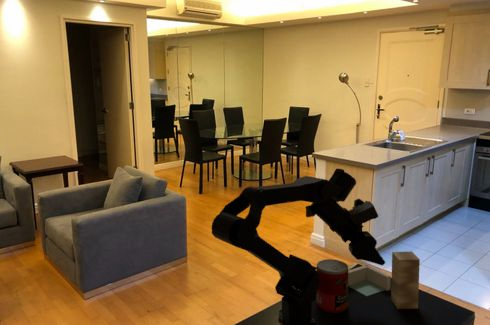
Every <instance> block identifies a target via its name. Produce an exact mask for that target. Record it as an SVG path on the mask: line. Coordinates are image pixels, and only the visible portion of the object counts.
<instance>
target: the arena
mask: <svg viewBox="0 0 490 325" xmlns="http://www.w3.org/2000/svg"><path fill="white" fill-rule="evenodd" d="M348 288H351V289H352V290H354V291H356V292H358V293H359V294H361V295H363V296H365V297H367V298H368V297H370V296H372V295H376V294H378V293H381V292H384V291H391V275H389V274H387V273H385V272H382V271H381V270H378V269H377V268H375V267H372V266H371V265H368V264H364V265H361V266H359V267H355V268H351V269H348Z"/></svg>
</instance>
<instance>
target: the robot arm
mask: <svg viewBox="0 0 490 325" xmlns="http://www.w3.org/2000/svg"><path fill="white" fill-rule="evenodd" d="M356 185H357V180H356V178H355V177H353V175H351V174H349V173H348V172H346V171H345V170H344V169H342V168H338V167H337V168H336V169H335V170H334V171H333V174H332V175H331V176H330V178H329V179H325V178H320V177H313V176H309V175H305V176H301V177H299V178H296V179H295V180H294V181H293V182H290V183H281V184H272V185H261V186H251V185H250V186H248V187H245V188H244V189H243V190H242V191H241V192H240V193H239V195H238V196H237V197H236V198H234V199H233V200H231V201H230V202H228V203H227V204H226V205H225V206H224V207H223V208H222V209H221V211H220V212H219V214H217V215H216V216H215V217H214V218H213V221H212V224H211V234H212V237H214V239H215V238H216V239H218V240H220V241H222V242H224V243H227V244H228V245H231V246H233V247H235V248H238V249H241V250H244V251H245V252H248V253H249V254H251V255H252V256H254V257H255V258H257V259H259V260H260V261H261V262H263V264H266V265H267V266H269V267H270V268H272V269H273V270H275V271H277V273H278V274H279V277H280V278H279V280H278V281H277V283H276V285H275V286H274V289H275V291H276V294H277V295H279V296H281V314H280V315H278V320H280V321H281V322H282V323H283V324H285V325H312V323H313V324H315V323H316V322H315V319H314V318H312V316H313V312H312V311H313V308H312V306H313V303H314V302H315V301H317V291H318V287H319V282H320V280H319V273H318V272H317V266H314V265H312V264H311V263H310V262H309V261H308V260H306V259H303V258H302V257H299V256H296V255H294V254H291V253H290V254H289V255H288V256H287V255H286V254H284V253H282V252H281V251H280V250H279V249H277V248H276V247H274V246H273V245H272V244H271V243H269V242H267V241H266V240H265V239H263V238H262V237H261V236H259V233H258V230H257V228H259V226H260V225H261V219H262V214H263V211H264V209H265V208H266V207H269V206H274V205H275V206H276V205H281V204H289V203H295V202H307V203H311V204H309V205H306V206H305V207H304V209H305V217H306V218H311V217H315V216H317V217H319V219H321V221H322V222H323V223H325V225H327V226H328V227H329V229H330V230H331V231H332V232H333V233H335V234H336V235H338V236H339V237H340V238H341V240H342V242H343V243H345V244H346V243H347V242H349V243H348V250H349V252H350V254H351V256H353V257H354V258H355V259H356V260H357V261H360V260H363V261H366V262H369V263H373V264H376V265H380V266H384V265H385V264H386V261H385V259H384V258H383V257H382V256H381V254H380V253H379V251H378V249H377V248H376V246H377V244H378V241H377V240H376V238H375V237H374V236H373V235H372V234H371V233H370V232H369V231H367V230H364V231H363V228H364V225H363V224H365V223H367V222H370V221H372V220H376V219H377V218H379V214H378V211H377V209H376V207H375V206H374V204H373V203H372V202H371V201H370V200H368V201H367V200H365V201H364V200H362V199H361V198H356V199H354V201H353V206H352V208H351V209H349V210H348V209H347V208H346V207H343V206H342V205H340V204H339V202H345V201H346V200H347V198H348V197H349V195H350V194H351V193H352V191H353V189H354V188H355V186H356ZM248 208H249V211H248V213H247V215H246V216H245V218H244V217H241V216H238V215H240V214H241V213H243V212H244V211H246V209H248ZM312 302H313V303H312Z"/></svg>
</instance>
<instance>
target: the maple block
mask: <svg viewBox="0 0 490 325" xmlns="http://www.w3.org/2000/svg"><path fill="white" fill-rule="evenodd" d="M420 264H421V262H420V258H419V257H418V256H417V255H416V254H415V252H413V251H391V281H390V291H391V292H390V294H391V295H390V300H391V301H392V302H393V303H394V305H395V307H396V309H397V310H400V309H401V310H403V309H404V310H406V309H409V310H410V309H415V310H416V309H419V291H420V290H419V289H420Z"/></svg>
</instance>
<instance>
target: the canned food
mask: <svg viewBox="0 0 490 325" xmlns="http://www.w3.org/2000/svg"><path fill="white" fill-rule="evenodd" d="M316 267H317V269H316V271H317V272H318V273H319V280H320V282H319V287H318V291H317V296H316V302H317V305H318V307H319V308H320V309H321V310H323V311H324V312H327V313H332V314H333V313H334V314H335V313H336V314H339V313H342V312H344V311H346V310H347V308H348V307H349V286H348V271H349V266H348V264H347V263H345V262H344V261H342V260H338V259H331V258H329V259H322V260H319V261H318V262H317V263H316Z"/></svg>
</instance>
